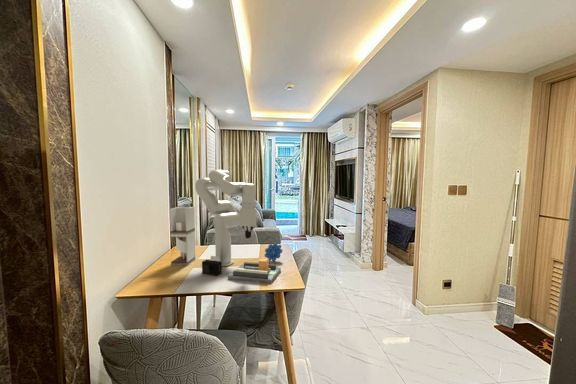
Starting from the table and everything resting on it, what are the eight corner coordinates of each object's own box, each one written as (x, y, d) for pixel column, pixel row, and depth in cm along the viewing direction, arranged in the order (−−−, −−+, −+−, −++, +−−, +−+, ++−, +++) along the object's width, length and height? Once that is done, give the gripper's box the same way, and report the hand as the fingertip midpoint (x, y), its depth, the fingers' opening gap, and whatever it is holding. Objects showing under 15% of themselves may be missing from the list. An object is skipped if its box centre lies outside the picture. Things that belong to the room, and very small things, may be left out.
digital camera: (200, 274, 143) (200, 262, 142) (207, 271, 148) (206, 259, 147) (215, 277, 139) (215, 264, 138) (221, 273, 144) (221, 261, 143)
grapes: (282, 258, 171) (282, 241, 170) (282, 262, 164) (282, 243, 163) (264, 259, 170) (264, 241, 169) (264, 262, 163) (264, 243, 163)
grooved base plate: (232, 275, 136) (232, 269, 136) (245, 265, 151) (245, 259, 151) (266, 278, 131) (266, 272, 131) (276, 268, 146) (276, 262, 146)
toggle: (257, 272, 138) (257, 260, 138) (260, 269, 143) (260, 258, 143) (267, 273, 137) (267, 261, 136) (270, 270, 142) (270, 258, 141)
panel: (227, 279, 135) (227, 273, 135) (242, 267, 153) (242, 262, 153) (270, 283, 130) (270, 277, 129) (280, 271, 147) (280, 266, 147)
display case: (179, 259, 170) (178, 206, 168) (195, 259, 169) (194, 206, 168) (171, 265, 158) (169, 208, 157) (188, 265, 158) (187, 208, 157)
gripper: (233, 205, 142) (233, 238, 143) (258, 207, 138) (257, 240, 140) (239, 204, 149) (238, 235, 151) (263, 205, 145) (262, 237, 147)
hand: (248, 237), depth 145 cm, fingers closed
